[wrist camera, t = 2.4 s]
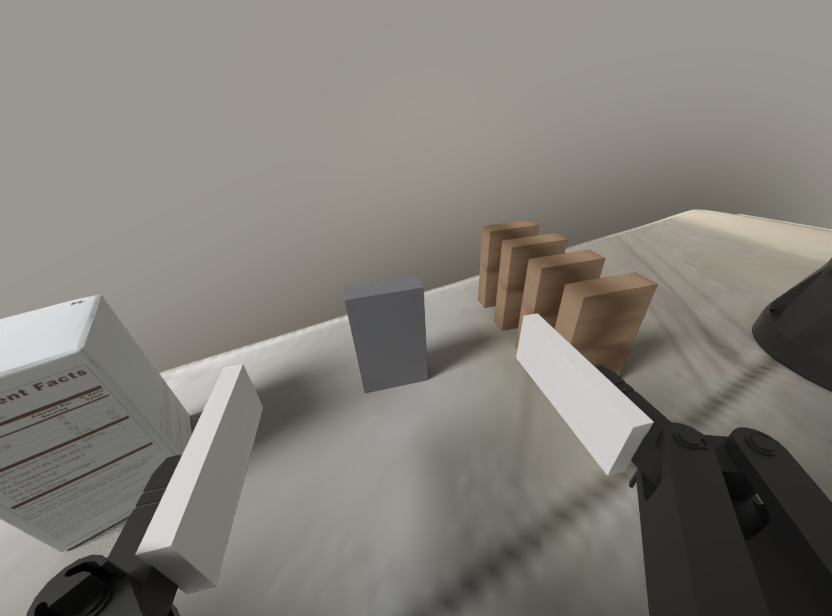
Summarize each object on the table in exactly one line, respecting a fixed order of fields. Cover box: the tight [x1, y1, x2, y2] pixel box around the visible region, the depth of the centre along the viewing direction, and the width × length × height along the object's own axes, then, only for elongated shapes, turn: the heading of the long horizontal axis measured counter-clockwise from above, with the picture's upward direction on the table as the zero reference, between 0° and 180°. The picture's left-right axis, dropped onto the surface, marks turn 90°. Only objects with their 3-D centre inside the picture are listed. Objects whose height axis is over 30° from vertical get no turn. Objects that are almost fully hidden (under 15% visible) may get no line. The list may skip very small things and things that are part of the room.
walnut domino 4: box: [555, 272, 658, 376], centre depth 24 cm, size 6×2×10 cm, turn 103°
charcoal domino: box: [344, 276, 428, 393], centre depth 26 cm, size 6×2×10 cm, turn 103°
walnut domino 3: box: [515, 250, 605, 350], centre depth 28 cm, size 6×2×10 cm, turn 103°
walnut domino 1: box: [478, 220, 539, 308], centre depth 37 cm, size 6×2×10 cm, turn 103°
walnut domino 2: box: [494, 233, 567, 331], centre depth 33 cm, size 6×2×10 cm, turn 103°
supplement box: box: [0, 295, 192, 552], centre depth 19 cm, size 7×7×13 cm
